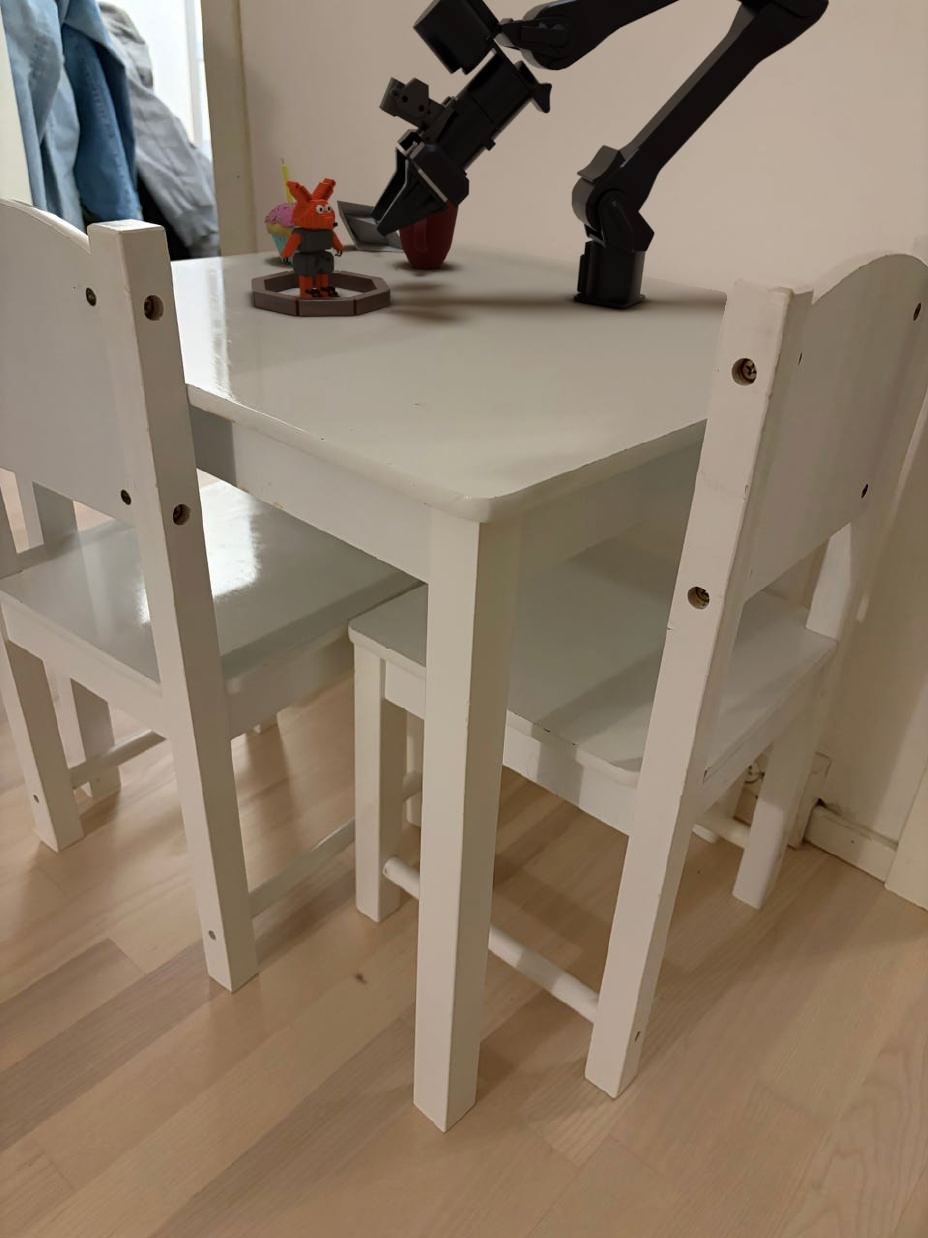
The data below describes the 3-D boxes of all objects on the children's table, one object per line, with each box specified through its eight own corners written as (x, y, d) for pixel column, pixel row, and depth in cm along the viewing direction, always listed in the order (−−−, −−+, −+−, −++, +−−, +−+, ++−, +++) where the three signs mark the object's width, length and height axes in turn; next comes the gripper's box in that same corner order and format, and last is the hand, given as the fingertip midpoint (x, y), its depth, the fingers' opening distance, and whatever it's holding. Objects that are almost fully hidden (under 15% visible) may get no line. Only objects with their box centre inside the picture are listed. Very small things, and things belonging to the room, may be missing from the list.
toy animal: (309, 309, 102) (304, 187, 95) (278, 299, 105) (271, 180, 99) (366, 299, 107) (364, 182, 100) (335, 290, 110) (332, 176, 104)
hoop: (413, 298, 108) (413, 283, 107) (329, 323, 97) (329, 307, 96) (313, 278, 115) (312, 264, 114) (224, 300, 104) (222, 284, 103)
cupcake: (254, 263, 121) (247, 158, 114) (289, 252, 127) (284, 153, 121) (314, 271, 118) (310, 164, 112) (346, 259, 125) (344, 158, 119)
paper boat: (405, 233, 136) (430, 226, 128) (386, 274, 137) (410, 269, 128) (333, 185, 130) (354, 173, 122) (313, 228, 131) (333, 219, 123)
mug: (458, 277, 118) (461, 190, 113) (393, 275, 118) (393, 187, 112) (456, 260, 127) (458, 178, 122) (395, 258, 127) (395, 176, 121)
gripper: (417, 44, 102) (319, 156, 107) (438, 47, 87) (322, 177, 91) (486, 128, 108) (389, 231, 112) (517, 144, 92) (404, 263, 96)
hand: (376, 224), depth 103 cm, fingers open, 9 cm apart
